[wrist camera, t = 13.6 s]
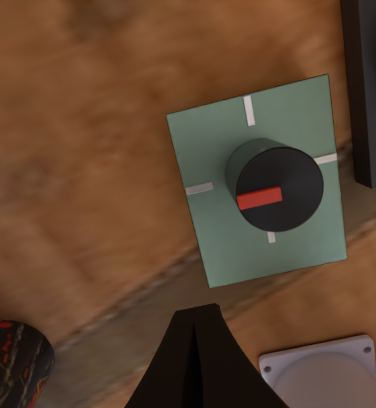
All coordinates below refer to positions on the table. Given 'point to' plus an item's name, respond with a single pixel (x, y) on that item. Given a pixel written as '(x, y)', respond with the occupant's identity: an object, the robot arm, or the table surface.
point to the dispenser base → (361, 83)
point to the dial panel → (221, 198)
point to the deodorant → (23, 364)
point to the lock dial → (274, 184)
